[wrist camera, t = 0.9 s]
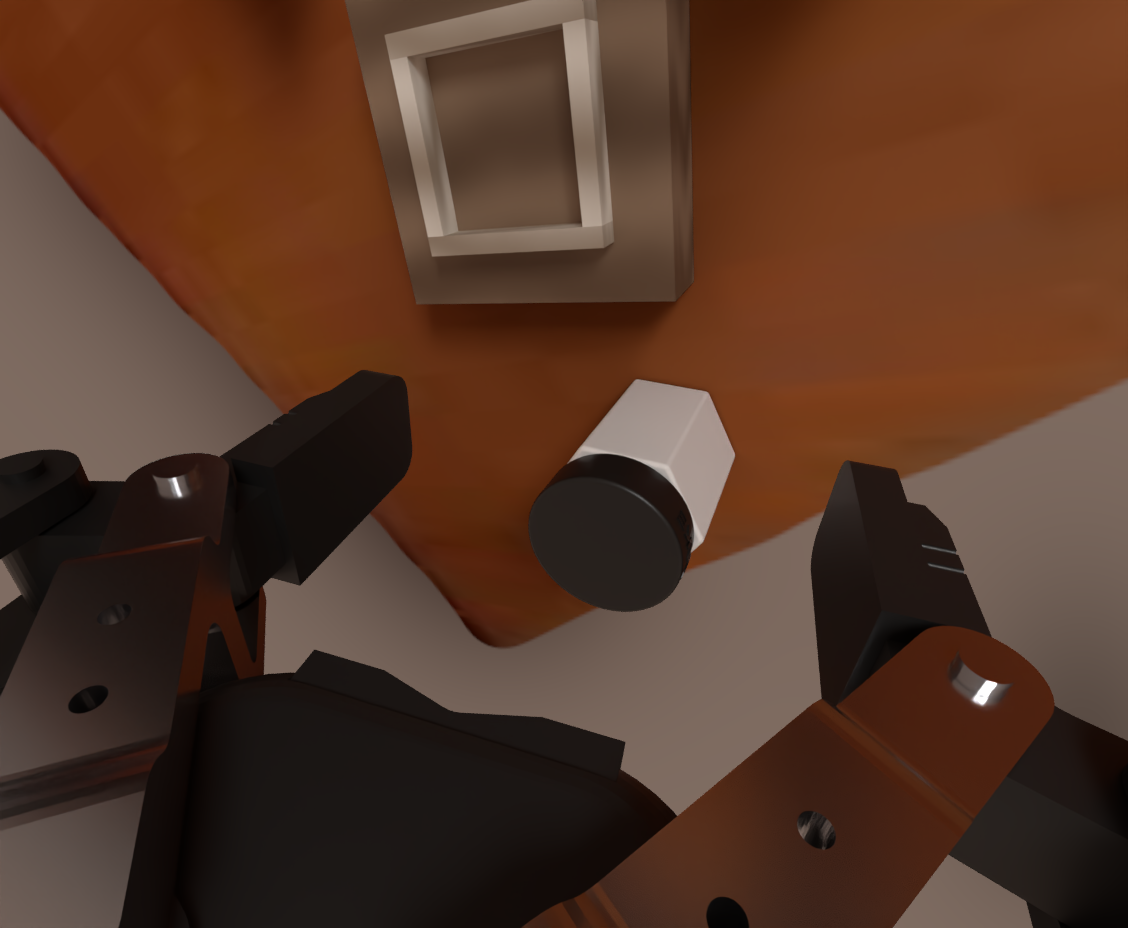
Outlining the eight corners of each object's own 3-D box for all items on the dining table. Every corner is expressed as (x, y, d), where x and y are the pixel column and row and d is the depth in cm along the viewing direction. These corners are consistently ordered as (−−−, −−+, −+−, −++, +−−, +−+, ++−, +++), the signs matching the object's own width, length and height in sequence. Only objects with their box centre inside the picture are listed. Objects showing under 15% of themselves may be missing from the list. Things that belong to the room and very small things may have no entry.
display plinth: (390, -16, 32) (316, -32, 28) (687, -99, 26) (650, -135, 22) (452, 287, 40) (401, 311, 36) (693, 281, 34) (667, 309, 29)
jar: (675, 518, 42) (619, 642, 33) (582, 445, 42) (499, 547, 33) (763, 432, 36) (725, 552, 27) (655, 349, 36) (580, 440, 27)
